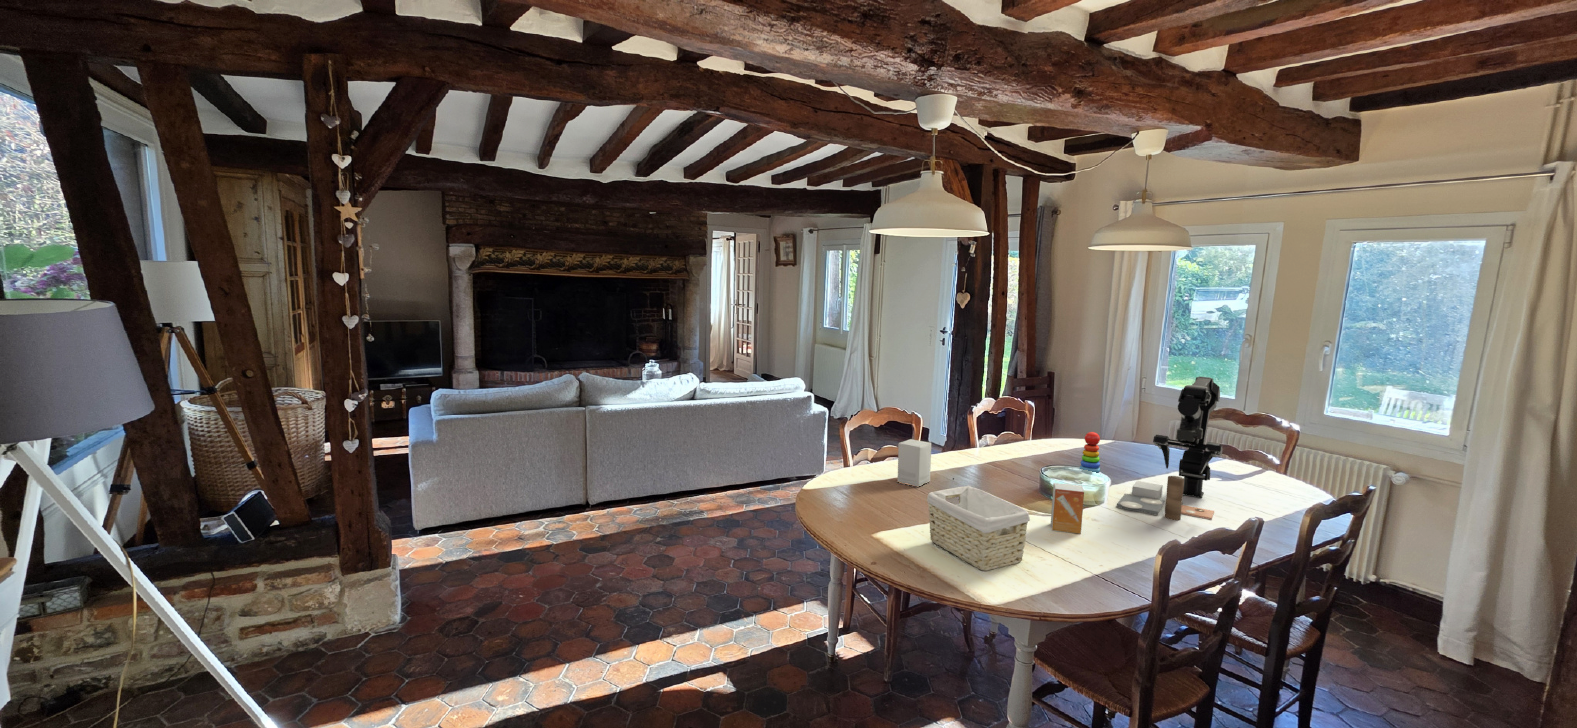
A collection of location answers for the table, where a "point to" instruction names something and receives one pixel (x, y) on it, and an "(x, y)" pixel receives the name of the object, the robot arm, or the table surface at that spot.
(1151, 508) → the slate board
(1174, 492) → the walnut pin
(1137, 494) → the cover
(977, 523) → the storage basket
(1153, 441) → the robot arm
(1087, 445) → the stacking toy
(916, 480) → the supplement box
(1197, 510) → the tile
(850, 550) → the table surface
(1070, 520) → the small box
